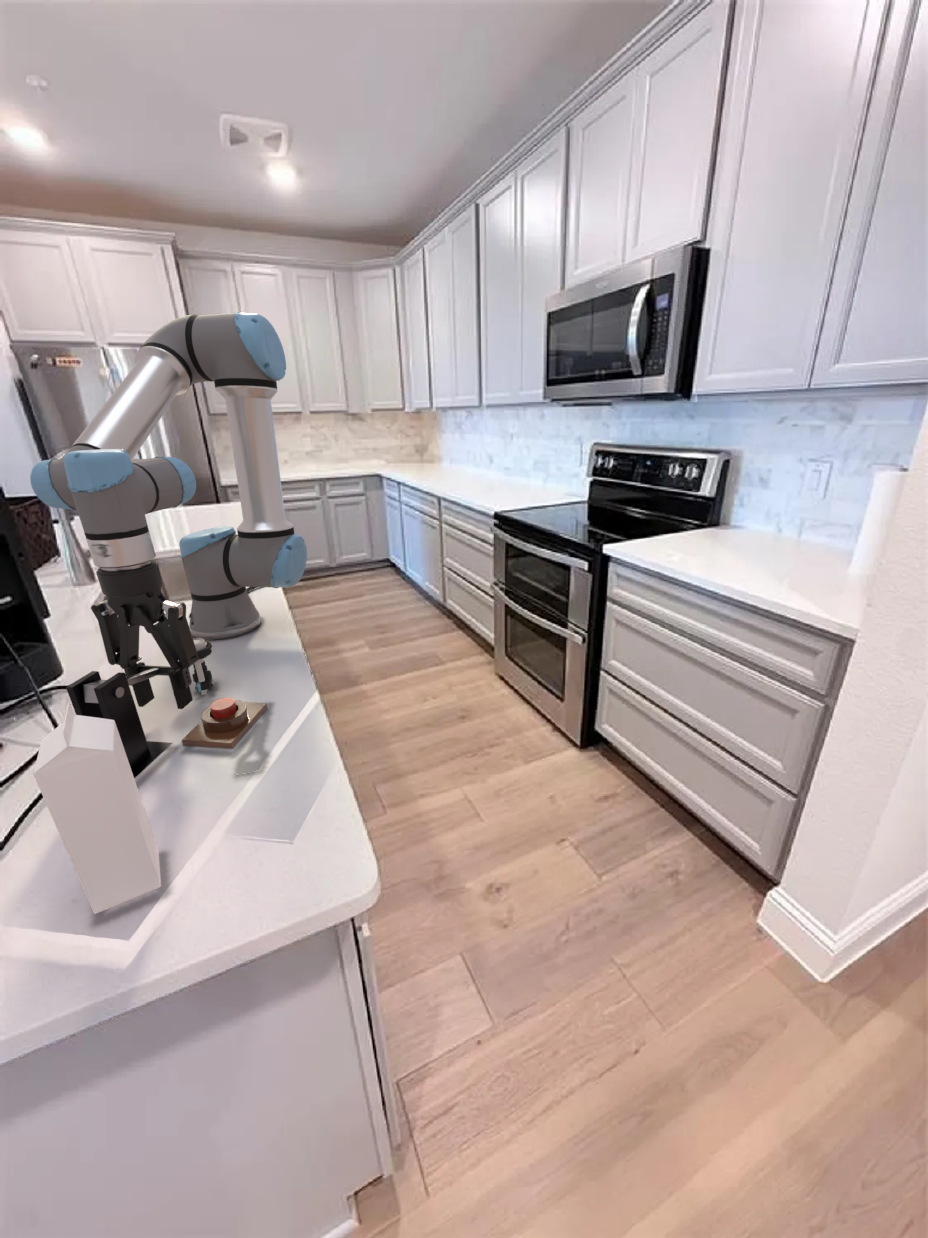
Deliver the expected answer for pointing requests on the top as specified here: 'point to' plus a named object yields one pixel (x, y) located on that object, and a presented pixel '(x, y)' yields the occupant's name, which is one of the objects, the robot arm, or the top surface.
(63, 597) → the top surface
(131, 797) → the milk
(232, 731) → the button block
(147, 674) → the switch lever
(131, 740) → the switch bracket
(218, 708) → the button
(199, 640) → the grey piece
